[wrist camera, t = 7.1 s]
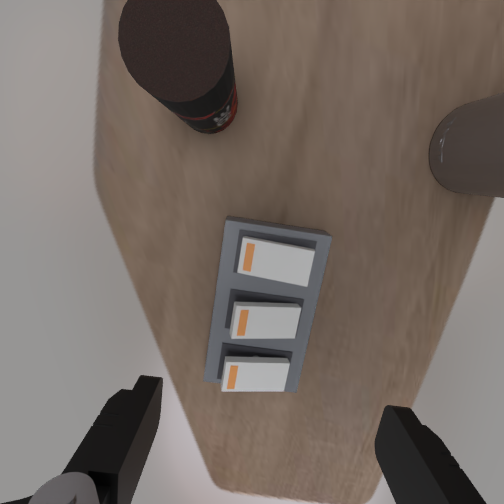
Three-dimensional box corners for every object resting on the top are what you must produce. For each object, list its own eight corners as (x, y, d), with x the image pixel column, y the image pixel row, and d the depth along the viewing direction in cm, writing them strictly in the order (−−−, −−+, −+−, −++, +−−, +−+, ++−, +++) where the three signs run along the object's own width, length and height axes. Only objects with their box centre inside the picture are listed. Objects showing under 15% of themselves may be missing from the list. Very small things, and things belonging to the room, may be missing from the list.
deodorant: (219, 145, 32) (197, 123, 17) (167, 112, 31) (99, 62, 17) (248, 91, 31) (251, 20, 16) (195, 56, 30) (149, -52, 15)
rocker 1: (314, 247, 31) (315, 251, 29) (306, 281, 31) (307, 287, 30) (245, 234, 31) (242, 237, 30) (240, 268, 32) (237, 272, 31)
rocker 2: (295, 301, 34) (301, 308, 32) (289, 330, 34) (295, 338, 33) (233, 299, 31) (236, 306, 30) (228, 330, 32) (231, 339, 31)
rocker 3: (285, 354, 35) (290, 364, 33) (279, 381, 36) (284, 392, 34) (224, 353, 33) (226, 362, 32) (220, 381, 34) (221, 392, 33)
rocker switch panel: (325, 230, 34) (332, 236, 31) (292, 376, 39) (296, 393, 36) (227, 215, 34) (225, 220, 31) (206, 365, 39) (203, 382, 35)
